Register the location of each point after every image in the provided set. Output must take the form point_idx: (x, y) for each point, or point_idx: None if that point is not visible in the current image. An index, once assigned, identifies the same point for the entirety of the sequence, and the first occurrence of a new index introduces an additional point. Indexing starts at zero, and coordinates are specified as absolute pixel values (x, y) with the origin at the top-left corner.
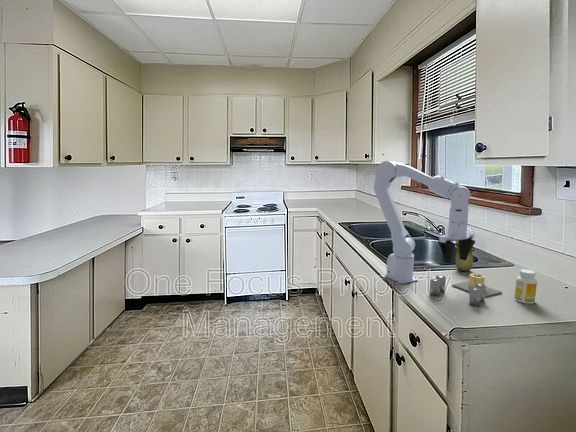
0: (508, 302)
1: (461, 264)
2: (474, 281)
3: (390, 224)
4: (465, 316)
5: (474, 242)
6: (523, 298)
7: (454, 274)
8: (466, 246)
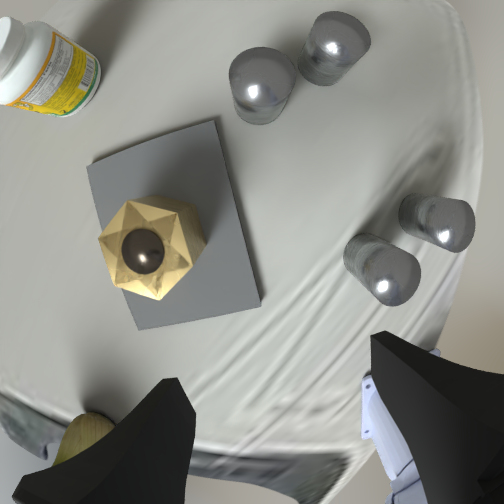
0: (144, 65)
1: None
2: (188, 220)
3: None
4: (411, 19)
5: (26, 485)
6: (89, 52)
7: None
8: (135, 489)
